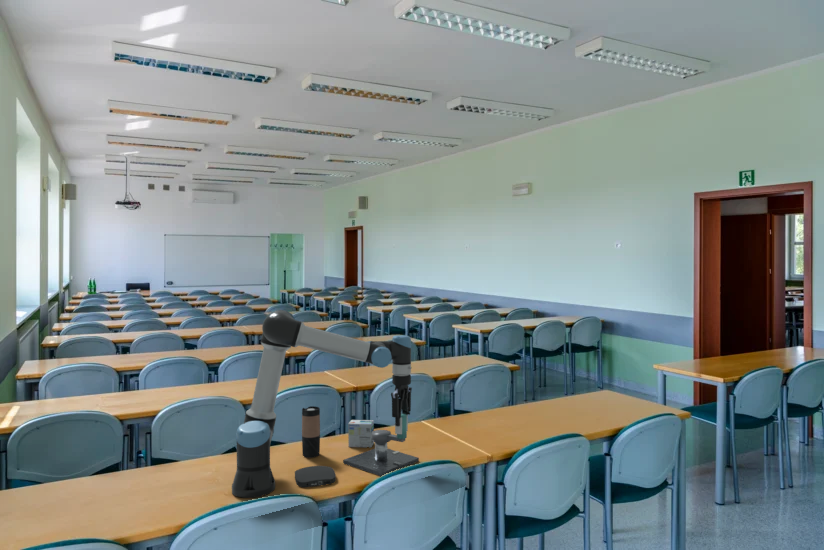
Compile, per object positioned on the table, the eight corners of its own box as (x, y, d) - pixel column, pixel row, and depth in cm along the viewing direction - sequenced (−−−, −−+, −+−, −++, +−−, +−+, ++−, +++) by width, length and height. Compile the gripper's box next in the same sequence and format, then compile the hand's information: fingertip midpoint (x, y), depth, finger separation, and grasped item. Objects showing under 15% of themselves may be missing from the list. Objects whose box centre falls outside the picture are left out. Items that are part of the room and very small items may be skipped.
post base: (382, 476, 215) (381, 453, 214) (343, 463, 229) (343, 441, 229) (418, 461, 231) (418, 439, 231) (380, 449, 246) (380, 429, 245)
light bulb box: (374, 443, 255) (374, 419, 255) (371, 448, 248) (371, 423, 248) (351, 442, 256) (351, 419, 256) (348, 447, 249) (347, 423, 249)
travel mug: (318, 458, 235) (318, 410, 235) (300, 458, 235) (300, 410, 235) (321, 452, 243) (321, 406, 242) (304, 451, 243) (303, 406, 243)
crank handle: (400, 447, 220) (400, 418, 220) (367, 441, 229) (367, 412, 228) (411, 442, 227) (411, 413, 227) (378, 435, 235) (378, 408, 235)
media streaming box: (330, 470, 222) (330, 463, 222) (337, 484, 208) (337, 476, 208) (293, 475, 217) (293, 467, 217) (297, 489, 204) (297, 481, 203)
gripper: (399, 378, 215) (399, 439, 215) (419, 371, 230) (419, 428, 231) (382, 377, 219) (382, 436, 219) (403, 369, 234) (403, 425, 234)
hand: (401, 432), depth 225 cm, fingers closed on crank handle, 4 cm apart
